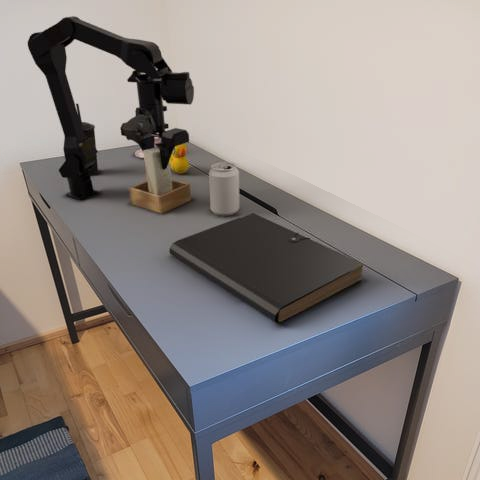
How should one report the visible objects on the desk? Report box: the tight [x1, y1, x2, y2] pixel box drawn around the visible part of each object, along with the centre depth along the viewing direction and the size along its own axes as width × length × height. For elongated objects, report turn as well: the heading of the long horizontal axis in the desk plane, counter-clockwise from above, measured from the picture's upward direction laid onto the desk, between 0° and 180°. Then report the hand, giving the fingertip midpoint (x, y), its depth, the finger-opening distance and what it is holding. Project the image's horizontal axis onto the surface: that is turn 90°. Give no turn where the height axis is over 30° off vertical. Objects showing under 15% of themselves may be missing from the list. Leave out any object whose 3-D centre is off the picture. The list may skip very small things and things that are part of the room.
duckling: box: [169, 143, 190, 175], centre depth 147 cm, size 11×5×10 cm, turn 22°
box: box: [143, 147, 172, 196], centre depth 125 cm, size 5×4×11 cm
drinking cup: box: [75, 103, 99, 176], centre depth 144 cm, size 8×8×20 cm
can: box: [208, 161, 240, 217], centre depth 121 cm, size 8×8×12 cm
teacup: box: [134, 133, 161, 159], centre depth 164 cm, size 12×12×6 cm
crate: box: [128, 178, 192, 215], centre depth 129 cm, size 11×11×4 cm
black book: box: [169, 212, 365, 324], centre depth 99 cm, size 33×4×24 cm
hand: (157, 167), depth 125 cm, fingers closed on box, 4 cm apart
